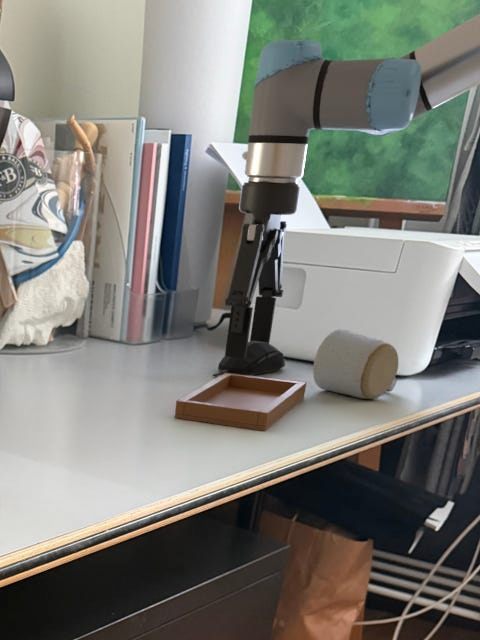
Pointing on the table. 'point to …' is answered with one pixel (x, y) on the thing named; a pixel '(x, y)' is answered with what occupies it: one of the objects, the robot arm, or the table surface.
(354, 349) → the ceramic mug
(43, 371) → the table surface
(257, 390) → the wooden tray
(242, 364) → the gaming mouse
